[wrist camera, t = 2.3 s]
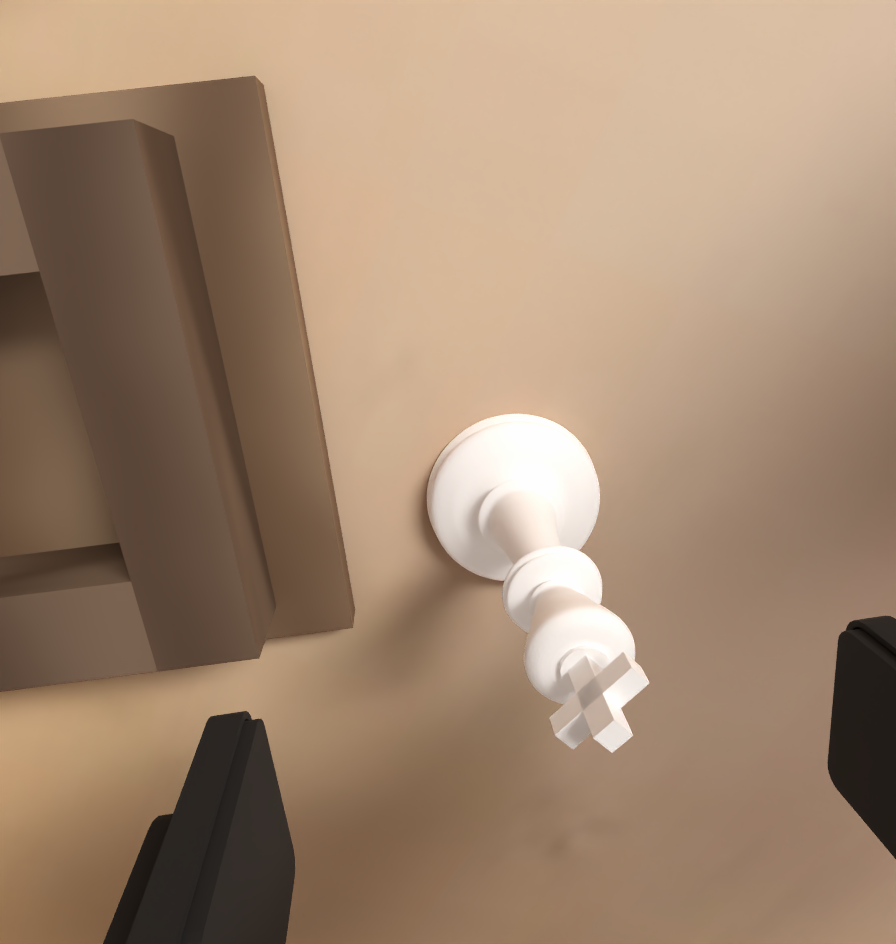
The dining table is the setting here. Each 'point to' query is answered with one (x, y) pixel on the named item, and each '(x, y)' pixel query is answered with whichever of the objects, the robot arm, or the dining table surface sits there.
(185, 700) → the dining table surface
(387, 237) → the dining table surface
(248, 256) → the socket board
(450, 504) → the chess piece
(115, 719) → the dining table surface
